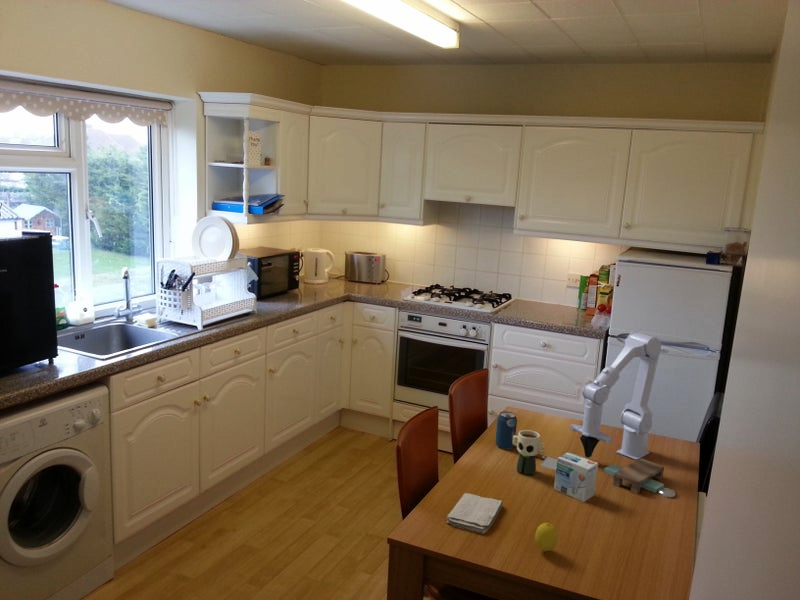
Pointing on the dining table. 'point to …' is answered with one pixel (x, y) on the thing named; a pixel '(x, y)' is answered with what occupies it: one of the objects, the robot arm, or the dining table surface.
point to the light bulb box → (575, 476)
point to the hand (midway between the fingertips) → (588, 456)
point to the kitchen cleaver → (547, 461)
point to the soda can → (506, 429)
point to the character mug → (528, 450)
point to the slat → (647, 484)
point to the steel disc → (666, 492)
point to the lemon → (546, 537)
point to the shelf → (638, 474)
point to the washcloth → (474, 513)
